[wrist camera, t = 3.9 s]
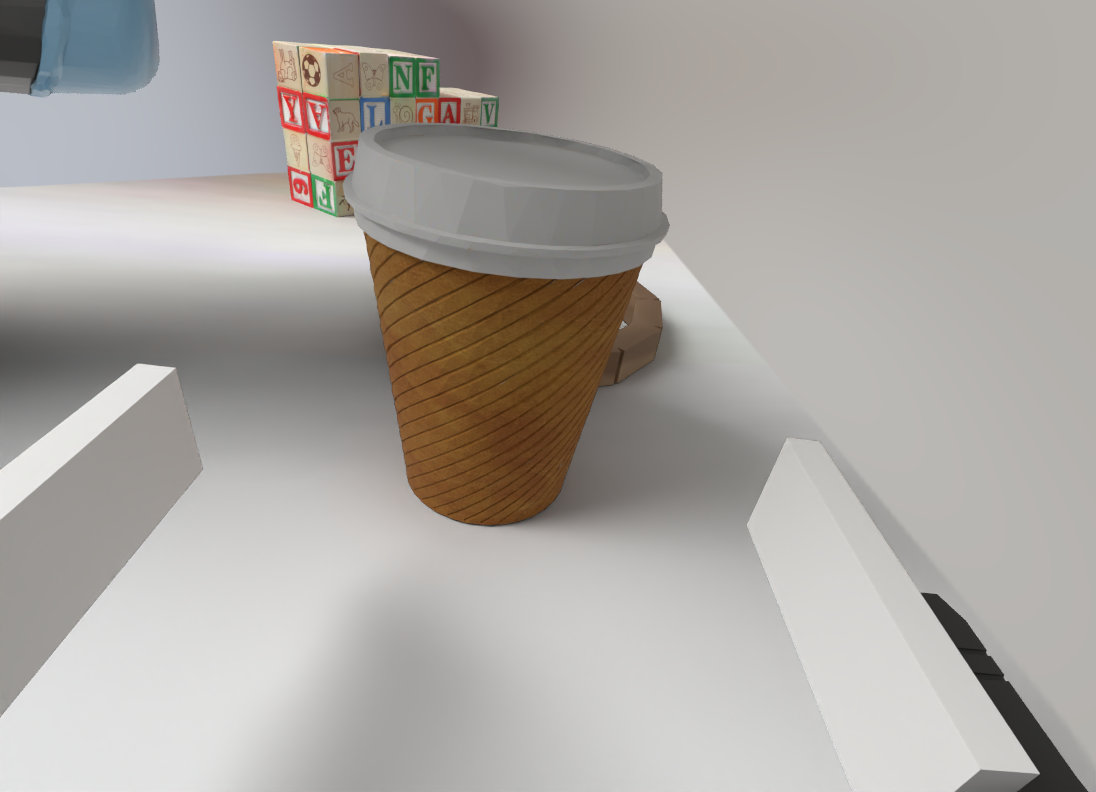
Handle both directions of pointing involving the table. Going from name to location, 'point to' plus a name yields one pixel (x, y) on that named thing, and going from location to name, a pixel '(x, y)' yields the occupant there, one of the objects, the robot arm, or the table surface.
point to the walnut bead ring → (635, 337)
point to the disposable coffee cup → (498, 299)
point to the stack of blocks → (356, 109)
